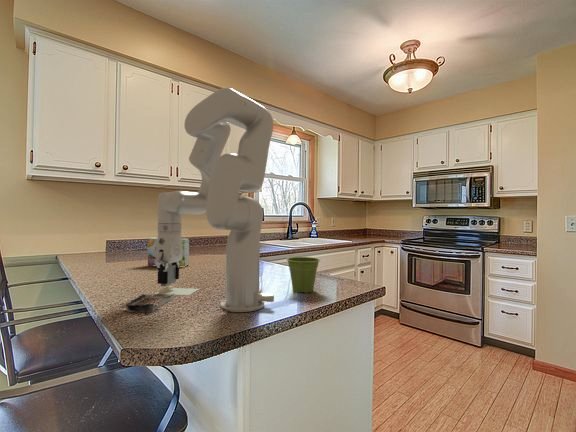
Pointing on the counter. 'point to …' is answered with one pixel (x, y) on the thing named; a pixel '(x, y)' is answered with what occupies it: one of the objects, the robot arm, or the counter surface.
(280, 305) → the counter surface
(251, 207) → the robot arm
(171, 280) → the slate plaque
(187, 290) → the mat
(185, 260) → the snack box
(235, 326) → the counter surface
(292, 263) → the plant pot
